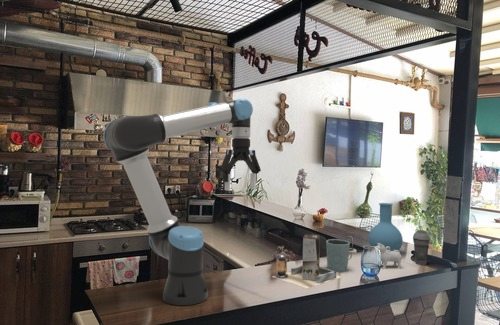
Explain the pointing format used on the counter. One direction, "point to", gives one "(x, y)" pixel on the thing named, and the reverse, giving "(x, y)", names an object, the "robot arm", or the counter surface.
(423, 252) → the beverage cup
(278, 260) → the bobbin
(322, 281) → the notched board
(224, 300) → the counter surface
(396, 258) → the white animal figurine
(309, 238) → the coffee box
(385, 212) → the vase
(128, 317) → the counter surface
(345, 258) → the green mug
